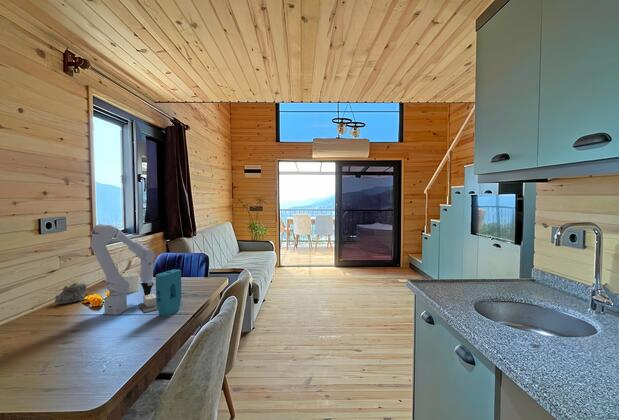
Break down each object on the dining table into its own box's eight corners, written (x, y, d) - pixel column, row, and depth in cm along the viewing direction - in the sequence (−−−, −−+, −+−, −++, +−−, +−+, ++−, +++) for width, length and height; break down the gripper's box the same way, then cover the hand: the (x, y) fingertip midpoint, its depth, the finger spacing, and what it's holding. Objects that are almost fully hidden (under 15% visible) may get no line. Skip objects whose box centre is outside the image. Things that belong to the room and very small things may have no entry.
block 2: (163, 317, 138) (162, 275, 137) (155, 316, 140) (154, 275, 139) (182, 308, 149) (181, 270, 148) (175, 307, 151) (174, 269, 150)
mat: (166, 308, 150) (166, 307, 150) (144, 313, 144) (144, 312, 144) (159, 300, 161) (159, 300, 161) (138, 305, 154) (138, 304, 154)
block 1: (153, 300, 160) (157, 304, 154) (143, 302, 156) (146, 307, 150) (153, 293, 159) (157, 297, 153) (143, 295, 156) (146, 299, 150)
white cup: (134, 293, 174) (134, 276, 173) (121, 293, 174) (121, 276, 174) (142, 289, 182) (142, 273, 181) (130, 289, 182) (129, 273, 181)
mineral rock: (53, 306, 152) (53, 287, 152) (61, 300, 162) (60, 282, 162) (84, 303, 157) (83, 284, 157) (89, 297, 167) (89, 279, 167)
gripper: (158, 272, 157) (158, 297, 157) (151, 267, 167) (152, 291, 168) (143, 274, 152) (144, 300, 152) (137, 269, 163) (138, 293, 163)
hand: (147, 295), depth 160 cm, fingers closed
